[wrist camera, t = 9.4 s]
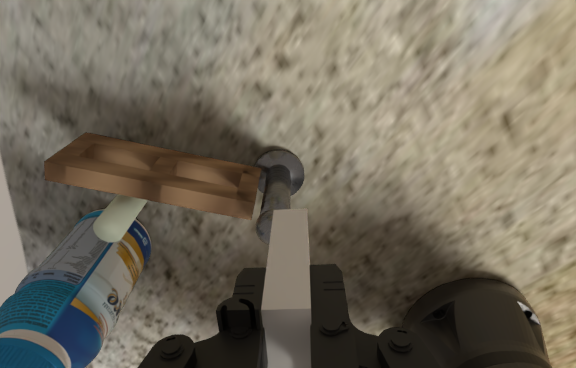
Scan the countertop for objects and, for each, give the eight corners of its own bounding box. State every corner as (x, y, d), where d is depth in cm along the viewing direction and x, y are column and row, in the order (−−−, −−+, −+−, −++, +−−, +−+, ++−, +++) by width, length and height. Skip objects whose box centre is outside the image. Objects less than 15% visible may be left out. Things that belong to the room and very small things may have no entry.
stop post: (173, 196, 43) (140, 253, 34) (130, 196, 43) (86, 252, 34) (168, 156, 41) (131, 205, 32) (123, 156, 41) (74, 204, 32)
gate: (261, 168, 40) (254, 203, 33) (258, 183, 40) (251, 220, 34) (85, 132, 38) (44, 161, 32) (85, 148, 39) (45, 180, 33)
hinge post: (303, 195, 42) (306, 265, 32) (254, 195, 42) (240, 264, 32) (304, 149, 40) (307, 207, 30) (252, 149, 40) (237, 207, 30)
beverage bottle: (98, 190, 43) (-47, 341, 25) (169, 234, 45) (83, 403, 27) (62, 244, 46) (-91, 415, 27) (130, 283, 48) (30, 465, 30)
